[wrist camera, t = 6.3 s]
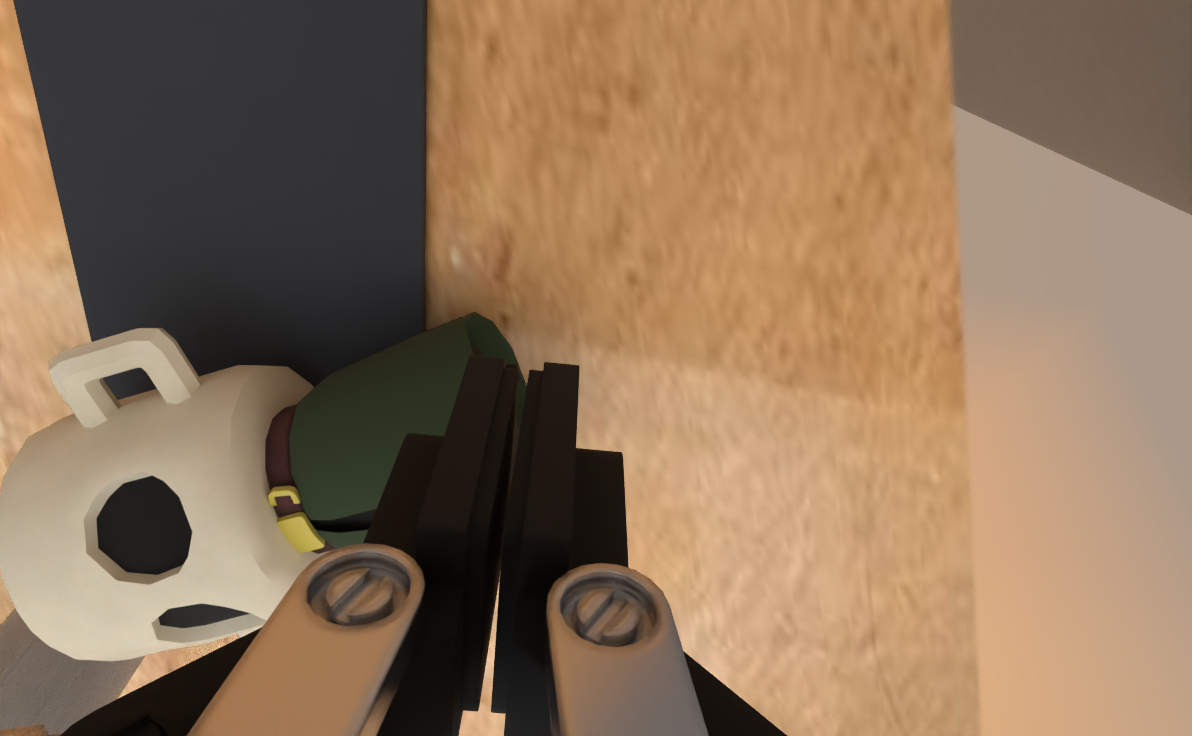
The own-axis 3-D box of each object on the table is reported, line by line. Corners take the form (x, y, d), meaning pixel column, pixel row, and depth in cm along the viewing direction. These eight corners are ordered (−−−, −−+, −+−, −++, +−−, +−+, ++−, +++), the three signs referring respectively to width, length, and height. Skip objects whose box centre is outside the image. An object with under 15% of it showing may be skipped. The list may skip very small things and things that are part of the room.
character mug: (600, 656, 20) (151, 765, 21) (589, 488, 26) (242, 580, 28) (447, 288, 15) (-134, 459, 16) (478, 188, 21) (57, 316, 22)
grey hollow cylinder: (178, 584, 29) (-17, 878, 20) (153, 658, 31) (-35, 957, 22) (52, 540, 28) (-215, 829, 19) (34, 620, 30) (-216, 916, 21)
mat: (428, -165, 17) (424, -167, 17) (424, 449, 26) (421, 456, 25) (-28, -226, 17) (-41, -230, 17) (117, 420, 25) (110, 426, 25)
